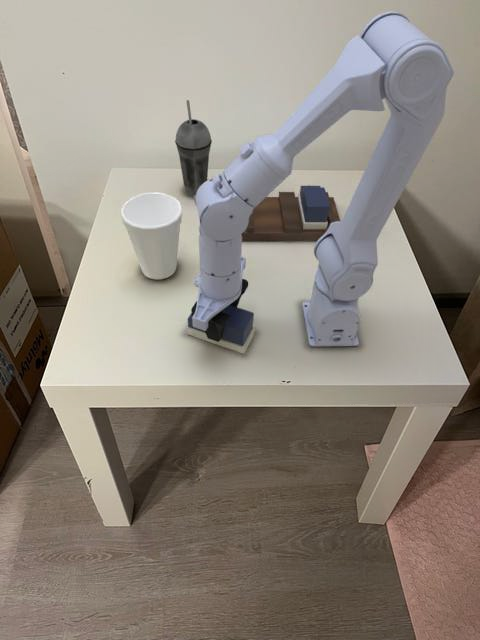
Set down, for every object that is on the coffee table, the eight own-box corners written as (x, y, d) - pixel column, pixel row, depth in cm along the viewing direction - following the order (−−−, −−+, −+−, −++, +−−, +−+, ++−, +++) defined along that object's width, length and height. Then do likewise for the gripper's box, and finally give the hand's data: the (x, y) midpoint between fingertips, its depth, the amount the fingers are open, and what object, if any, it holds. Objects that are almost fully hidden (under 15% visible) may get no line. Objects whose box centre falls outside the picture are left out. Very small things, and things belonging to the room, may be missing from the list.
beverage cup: (219, 188, 106) (218, 96, 91) (199, 204, 102) (196, 110, 87) (191, 178, 108) (187, 86, 94) (172, 193, 104) (163, 100, 89)
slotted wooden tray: (341, 241, 95) (345, 227, 93) (240, 241, 94) (240, 227, 92) (331, 204, 103) (334, 192, 101) (238, 204, 102) (238, 191, 100)
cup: (154, 244, 93) (146, 185, 83) (197, 263, 90) (194, 203, 80) (119, 274, 87) (107, 214, 77) (164, 296, 84) (157, 236, 74)
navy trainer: (254, 333, 79) (256, 312, 75) (243, 354, 76) (245, 333, 72) (199, 314, 81) (198, 293, 77) (186, 334, 78) (184, 312, 74)
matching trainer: (326, 229, 94) (331, 207, 90) (303, 229, 94) (306, 207, 90) (319, 199, 101) (322, 178, 97) (297, 199, 101) (300, 177, 97)
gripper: (216, 226, 73) (216, 290, 83) (169, 288, 64) (177, 352, 74) (260, 238, 71) (255, 303, 81) (218, 304, 62) (219, 367, 72)
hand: (220, 327), depth 77 cm, fingers open, 4 cm apart
